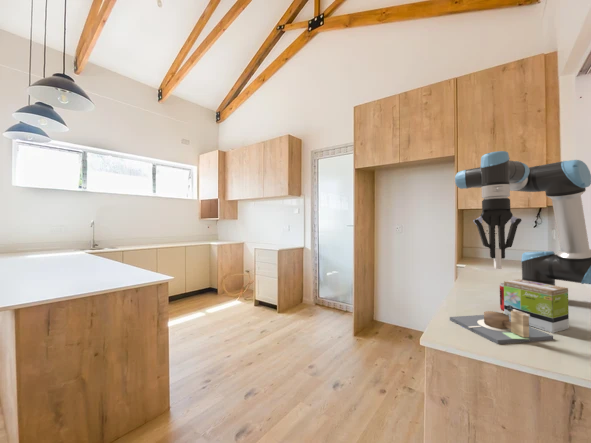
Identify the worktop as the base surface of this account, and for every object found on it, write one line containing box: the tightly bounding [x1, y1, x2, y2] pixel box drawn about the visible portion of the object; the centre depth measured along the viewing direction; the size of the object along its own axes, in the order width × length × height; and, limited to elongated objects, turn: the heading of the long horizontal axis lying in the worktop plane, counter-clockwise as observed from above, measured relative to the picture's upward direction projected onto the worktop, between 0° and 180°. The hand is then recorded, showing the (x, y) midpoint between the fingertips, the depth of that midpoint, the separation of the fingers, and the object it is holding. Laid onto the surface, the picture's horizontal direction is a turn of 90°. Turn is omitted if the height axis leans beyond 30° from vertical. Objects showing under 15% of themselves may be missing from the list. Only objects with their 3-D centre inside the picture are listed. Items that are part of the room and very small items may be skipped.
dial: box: [483, 309, 530, 337], centre depth 85 cm, size 15×7×8 cm, turn 5°
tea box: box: [503, 278, 570, 334], centre depth 94 cm, size 15×10×15 cm, turn 21°
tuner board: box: [449, 314, 554, 345], centre depth 89 cm, size 21×21×1 cm
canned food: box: [499, 282, 504, 312], centre depth 107 cm, size 8×8×11 cm
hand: (497, 268), depth 86 cm, fingers closed
